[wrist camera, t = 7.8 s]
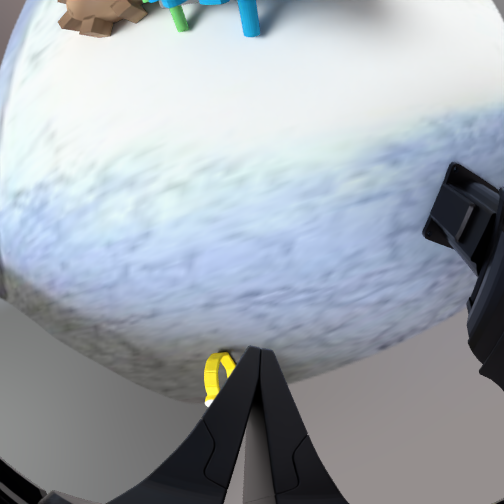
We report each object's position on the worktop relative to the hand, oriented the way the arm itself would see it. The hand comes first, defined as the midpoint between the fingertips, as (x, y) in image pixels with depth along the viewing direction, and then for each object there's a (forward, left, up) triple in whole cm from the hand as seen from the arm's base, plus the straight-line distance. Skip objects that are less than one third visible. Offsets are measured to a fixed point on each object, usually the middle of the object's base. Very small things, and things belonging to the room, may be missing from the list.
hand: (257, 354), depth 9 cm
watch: (0, +18, -12) cm, 22 cm away
